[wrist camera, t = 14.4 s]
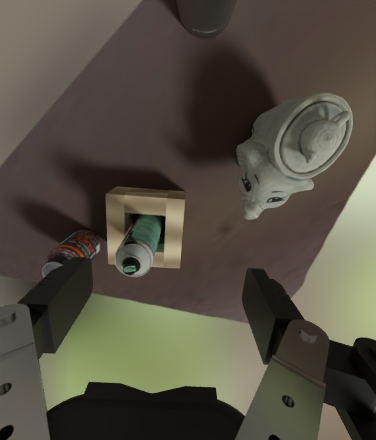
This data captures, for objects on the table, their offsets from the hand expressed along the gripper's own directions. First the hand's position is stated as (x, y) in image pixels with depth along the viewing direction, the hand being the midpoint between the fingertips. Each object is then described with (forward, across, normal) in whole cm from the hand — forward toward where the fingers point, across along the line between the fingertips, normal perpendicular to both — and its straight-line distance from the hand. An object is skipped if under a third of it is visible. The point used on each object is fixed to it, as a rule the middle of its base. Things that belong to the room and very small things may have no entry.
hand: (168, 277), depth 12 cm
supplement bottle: (+36, +20, +16) cm, 44 cm away
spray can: (+36, +6, +10) cm, 38 cm away
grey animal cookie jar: (+36, -15, -5) cm, 40 cm away
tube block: (+36, +6, +10) cm, 38 cm away
